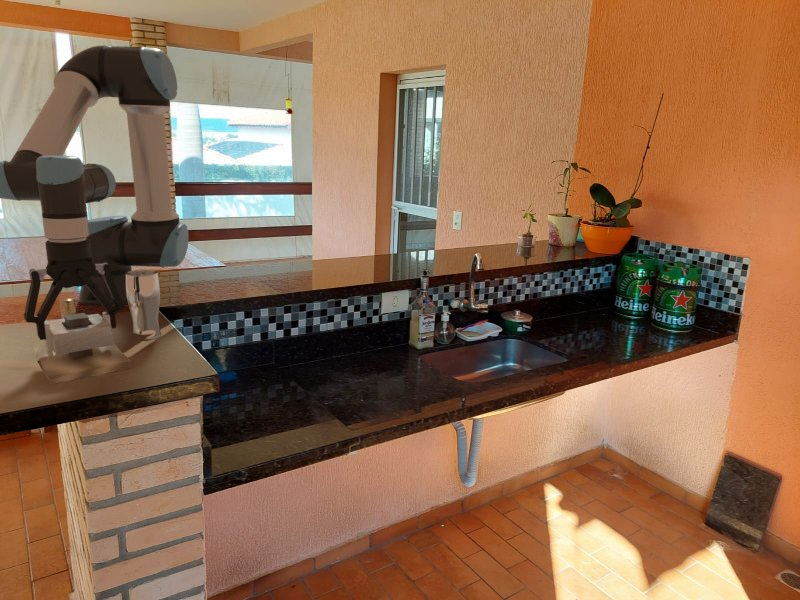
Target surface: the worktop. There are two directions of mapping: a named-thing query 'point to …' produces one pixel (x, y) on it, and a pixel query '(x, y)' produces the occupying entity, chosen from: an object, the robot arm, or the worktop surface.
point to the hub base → (81, 358)
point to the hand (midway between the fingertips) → (80, 348)
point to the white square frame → (80, 335)
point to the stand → (67, 307)
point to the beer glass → (144, 302)
